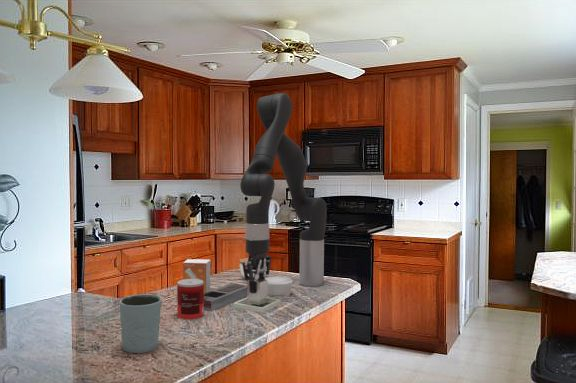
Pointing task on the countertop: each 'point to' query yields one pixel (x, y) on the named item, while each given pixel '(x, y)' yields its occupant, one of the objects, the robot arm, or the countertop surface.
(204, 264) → the small box
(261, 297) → the cube with dark knob
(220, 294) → the grey compartment tray
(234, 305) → the parts tray
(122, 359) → the countertop surface
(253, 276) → the lidded jar
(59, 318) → the countertop surface
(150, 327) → the grey-green cup
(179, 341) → the countertop surface
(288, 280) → the ramekin
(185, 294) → the canned food
